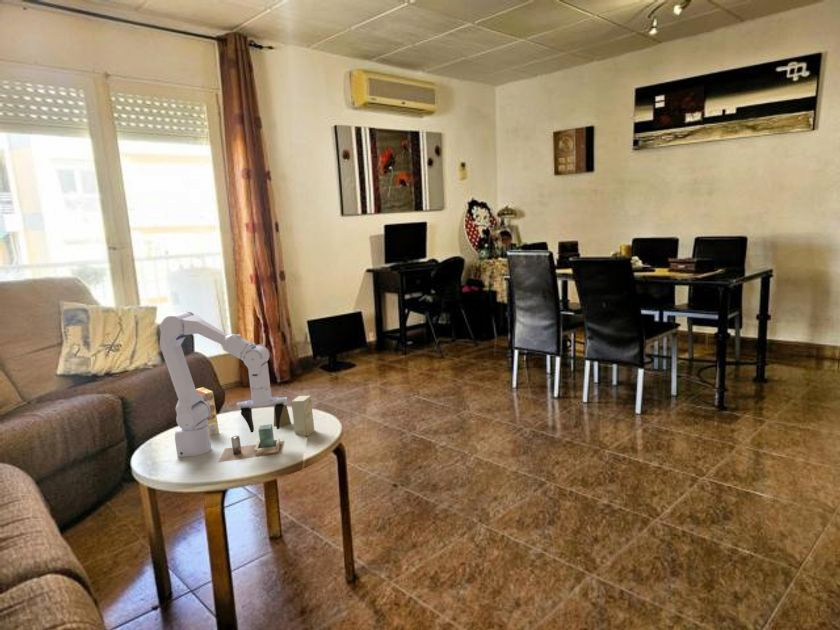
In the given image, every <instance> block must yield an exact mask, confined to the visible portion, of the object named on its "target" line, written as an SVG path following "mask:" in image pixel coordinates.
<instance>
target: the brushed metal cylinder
mask: <svg viewBox="0 0 840 630" xmlns="http://www.w3.org/2000/svg"><path fill="white" fill-rule="evenodd" d="M230 439H231V440H230V441H231V446H232V447H231V448H233V454H234V455H237V454H240V453H241V445H242V444H241V437H240V435H233V436H232V437H231V438H230Z"/></svg>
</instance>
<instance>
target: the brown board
mask: <svg viewBox="0 0 840 630" xmlns="http://www.w3.org/2000/svg"><path fill="white" fill-rule="evenodd" d="M274 445H275V446H274V447H267V448H261V446H260V440H259V441H256V444H249V445H243V446H241V453H240V454H237V455H234V454H233V448H232V447H227V448H224V450H223V452H222V454H221V456H220V458H219V461H218V463H221V462H229V461H237V460H244V459H251V458H252V459H253V458H260V457H266V456H273V455H274V456H275V455H282V454H283V449H284V445H285V440H281V438H276V439H274Z"/></svg>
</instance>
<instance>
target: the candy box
mask: <svg viewBox="0 0 840 630" xmlns="http://www.w3.org/2000/svg"><path fill="white" fill-rule="evenodd" d="M195 389H196V392H197V393H198V394H199V395H201V396H203V398H204V401H205V402H206V403H207V404H208V406H209V407H210V415H209V417H208V418H207V420H208V429H209V436H211V435H216V434H220V430H219V429H220V428H219V423H218V417H217V416H218V415H217V409H216V404H215V397H214V396H215V395H214V391H213V390H210V389H208V388H206V387H199V388H195Z"/></svg>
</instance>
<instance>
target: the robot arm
mask: <svg viewBox="0 0 840 630" xmlns="http://www.w3.org/2000/svg"><path fill="white" fill-rule="evenodd" d="M158 328H159V330H160V337H159V347H160V350H161V353H162V355H163V359H164V362H165V365H166V366H167V367H166V368H167V370H168V374H169V375H170V378H171V382H172V385H173V387H174V390H175V393H176V397H177V399H178V400H177V402H176V405H175V412H176V417H175V420H176V424H177V426H178V427H179V428H177V429H175V432H174V443H175V448H176V454H177V455H176V456H177V458H182V457H193V456H194V457H195V456H201V455H203V454H206V453H209V452H210V451H211V450H212V444H211V438H210V437H211V435H209V429H208V420H207V418H208V417H209V415H210V407H209V406H208V404H207V403H206V402H205V401H204V398H203V396H201V395H199V394H198V393H197V392H196V389H197V388H196V386H195V383H194V380H193V378H192V377H193V376H192V374H191V372H190V368H189V365H188V363H187V362H188V361H187V360H186V357H185V355H184V354H185V353H184V351H183V348H182V344H183V343H184V340H185V338H187V336H188V335H197V334H198V335H200V336H202V337H204V338H206V339H208V340H211V341H213V342H215V343H217V344H219V345H221V346H222V350H223V351H224V352H226V353H227V354H230V355H231V356H233V357H235V358H237V359H239V360H241V361H243V364H244V366H246V367H247V370H248V379H249V387H250V396H251V399H248V400H244V401H239V402H237V403H236V410H237V411H240V414H241V416H242V418H243V419H244V420H245V422H246V423H247V427H248V428H249V430H250V433H254V431H255V427H254V420H253V411H252V410H253V409H256V408H263V407H264V408H265V407H266V408H267V407H274V406H275V405H276V406H275V415H276V426H275V427H276V430H280V428H281V427H280V418H281V413H282V410H283V407H284V405H287V406H288V397H287V396H286V397H274V396H272V389H271V382H270V373H269V372H270V371H269V364H268V361H269V359H270V357H271V356H270V355H271V354H270V350H269V349H268V348H267V347H266V346H265V345H264V344H256V343H255V342H250V341H249V340H247V339H246V338H243V337H242V335H241V334H240V333H237V334H235V333H232V334H227V333H226V332H224V331H223V330H220V329H218V327H215V325H212V324H211V323H209V322H207V321H205V320H204V319H203V318H201V316H200V315H198V314H195V313H193V312H191V311H187V310H185V311H182V312H180V313H176V314H172V315H168V316H165V317H164V318H163V320H162V321H161V322H160V324H159V327H158Z"/></svg>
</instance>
